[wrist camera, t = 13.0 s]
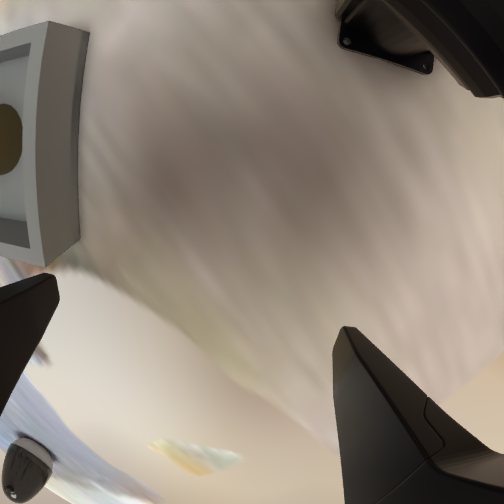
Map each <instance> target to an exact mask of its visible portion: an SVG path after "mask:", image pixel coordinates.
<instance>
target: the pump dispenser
mask: <svg viewBox="0 0 504 504" xmlns="http://www.w3.org/2000/svg"><path fill="white" fill-rule="evenodd" d="M52 466H53V464H52V459H51V456H50V455H49V453H48V452H47V451H46V449H44V448H43V447H42V446H41V445H39V444H38V443H36V442H35V441H33V440H31V439H27V438H20V439H18V440H16V441H15V442H14V443H11V444H10V446H9V448H8V450H7V453H6V456H5V460H4V464H3V471H2V487H3V491H4V493H5V495H6V496H7V497H8V498H9V499H10V500H11V501H13V502H15V503H25V502H27V501H29V500H30V499H32V498H33V497H34V496H35V495H36V494H37V493H38V492H39V491H40V490H41V489H42V488H43V487H44V486H45V484H46V483H47V481H48V480H49V479H50V477H51V475H52V473H53V472H52Z"/></svg>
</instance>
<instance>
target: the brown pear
mask: <svg viewBox="0 0 504 504" xmlns="http://www.w3.org/2000/svg"><path fill="white" fill-rule="evenodd" d="M22 136H23V126H22V122H21V119H20V117H19V115H18V112H17V111H16V110H15V109H14V108H13V107H12V106H11V105H8V104H5V103H4V104H0V175H4V174H7V173H9V172H11V171H12V170H13V169H14V168H15V166H16V165H17V164H18V162H19V159H20V157H21V154H22Z"/></svg>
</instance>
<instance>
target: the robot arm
mask: <svg viewBox="0 0 504 504" xmlns="http://www.w3.org/2000/svg"><path fill="white" fill-rule="evenodd" d="M335 16H336V17H337V19H341V20H340V27H339V34H338V45H339V46H340V47H341V48H342V49H344V50H348V51H352V52H356V53H360V54H363V55H367V56H370V57H374V58H377V59H380V60H383V61H386V62H389V63H393V64H396V65H398V66H401V67H404V68H407V69H410V70H413V71H415V72H418V73H421V74H424V75H427V74H430V73H431V72H432V70H433V62H434V56H435V57H436V58H437V59H438V60H439V61H440V62H441V63H442V64H443V66H444V67H445V68H446V69H447V70H448V71H449V73H450V74H451V75H452V76H453V77H454V78H455V80H456V81H457V82H458V83H459V85H460V86H462V87H464V88H465V89H467V90H470V91H471V92H472V94H473V95H474V96H475V97H479V98H496V97H502V98H504V0H337V3H336V11H335ZM343 39H347V40H348V41H349V45H345V44H344V43H343ZM423 64H424V65H426V67H427V70H424V68H423ZM59 300H60V296H59V291H58V286H57V280H56V277H55V276H54V275H52V274H48V273H42V274H39V275H36V276H33V277H30V278H27V279H24V280H21V281H18V282H15V283H12V284H9V285H6V286H3V287H0V416H1V414H2V412H3V410H4V408H5V406H6V403H7V401H8V399H9V397H10V395H11V393H12V391H13V389H14V388H15V386H16V384H17V382H18V380H19V378H20V376H21V374H22V372H23V371H24V369H25V367H26V365H27V363H28V361H29V360H30V358H31V356H32V354H33V353H34V351H35V349H36V347H37V346H38V344H39V342H40V340H41V339H42V337H43V335H44V333H45V330H46V328H47V326H48V324H49V322H50V320H51V318H52V316H53V314H54V312H55V310H56V308H57V306H58V304H59ZM332 357H333V398H334V407H335V415H336V423H337V431H338V439H339V448H340V457H341V467H342V476H343V488H344V499H345V504H504V454H500V453H497V452H495V451H493V450H491V449H489V448H488V447H487V446H485V445H484V444H483V443H482V442H481V441H479V440H478V439H477V438H476V437H474V436H473V435H472V434H471V433H469V432H468V431H467V430H466V429H464V428H463V427H462V426H461V425H460V424H458V423H457V422H456V421H455V420H453V419H452V418H451V417H450V416H449V415H448V414H446V412H444V411H443V410H442V409H441V408H440V407H439V406H438V405H437V404H436V403H435V402H434V401H433V400H432V399H431V398H430V397H427V395H426V394H425V393H424V392H423V391H422V390H421V389H420V388H419V387H418V386H417V385H416V384H415V383H414V382H413V381H412V380H411V379H410V378H409V377H408V376H407V375H406V374H405V373H403V372H402V371H401V370H400V369H399V368H398V367H397V366H396V365H395V364H394V363H393V362H392V361H391V360H390V359H389V358H388V357H387V356H386V355H385V354H383V353H382V352H381V351H380V350H379V349H378V348H377V347H376V346H375V345H374V344H373V343H372V342H371V341H370V340H369V339H368V338H366V337H365V336H364V335H363V334H362V333H361V332H360V331H359V330H358V329H357V328H355V327H348V326H343V327H342V328H341V329H340V332H339V334H338V337H337V339H336V342H335V345H334V347H333V353H332Z"/></svg>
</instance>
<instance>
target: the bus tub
mask: <svg viewBox="0 0 504 504" xmlns="http://www.w3.org/2000/svg"><path fill="white" fill-rule="evenodd" d="M89 34H90V33H89V32H86V31H83V30H80V29H76V28H73V27H70V26H66V25H63V24H59V23H55V22H51V21H46V22H42V23H39V24H35V25H32V26H28V27H25V28H22V29H19V30H16V31H12V32H10V33H7V34H4V35H1V36H0V104H4V103H5V104H8V105H11V106H12V107H13V108H14V109H15V110H16V111H17V112H18V115H19V117H20V119H21V122H22V126H23V136H22V154H21V157H20V159H19V162H18V164H17V165H16V166H15V168H14V169H13V170H12V171H11V172H9V173H7V174H4V175H0V256H2V257H6V258H10V259H13V260H17V261H21V262H25V263H29V264H32V265H36V266H40V267H44V268H46V267H47V266H48V265H49V264H50V263H52V262H53V261H54V260H55V259H56V258H57V257H59V256H60V255H61V254H62V253H63V252H65V251H66V250H67V249H68V248H70V247H71V246H72V245H73V244H75V243H76V242H77V241H78V240H80V230H79V213H78V184H77V158H78V128H79V113H80V100H81V90H82V81H83V73H84V65H85V58H86V52H87V46H88V40H89Z"/></svg>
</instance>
